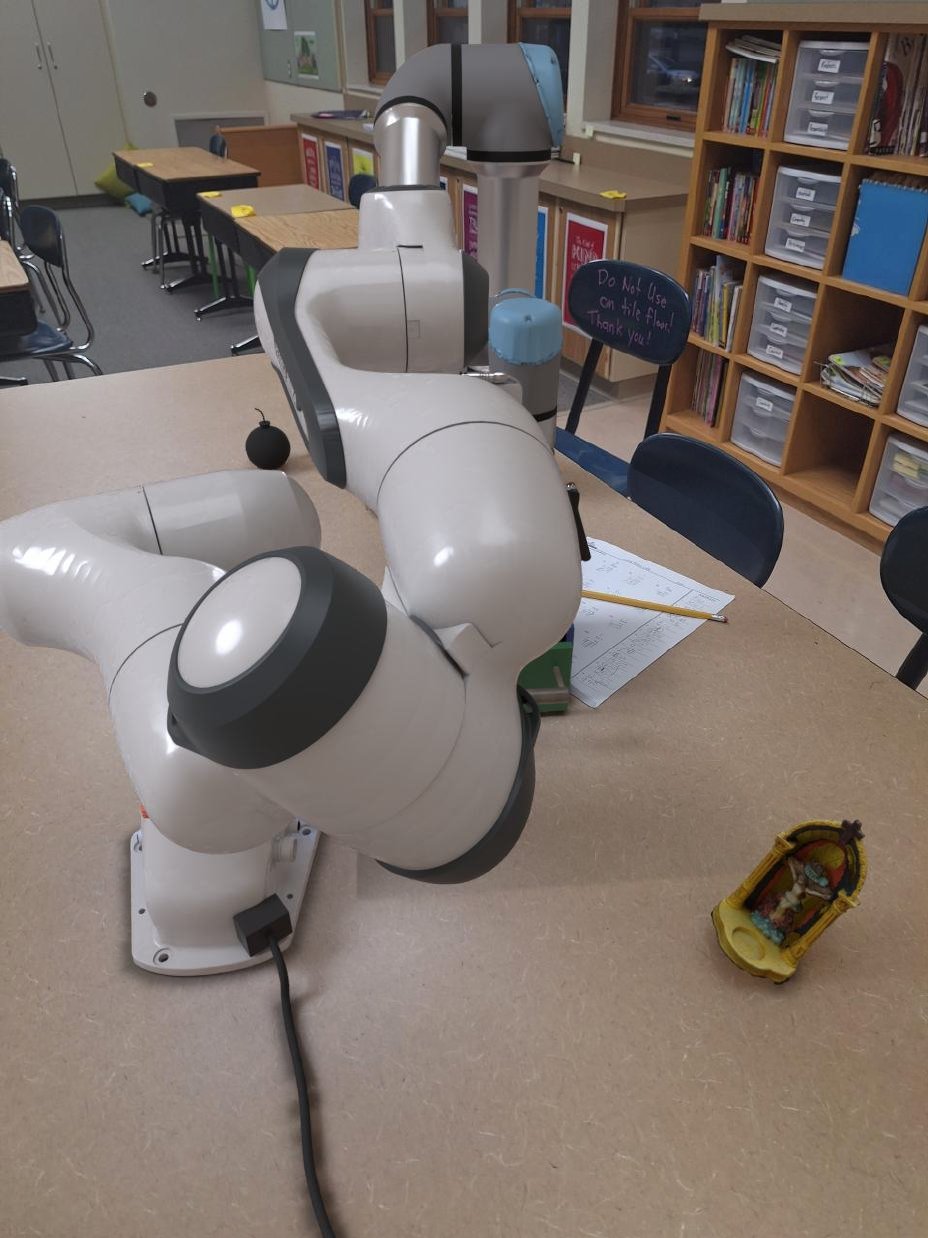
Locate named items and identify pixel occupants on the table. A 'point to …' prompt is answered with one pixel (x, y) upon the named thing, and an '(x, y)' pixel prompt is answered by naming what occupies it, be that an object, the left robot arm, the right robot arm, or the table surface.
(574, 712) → the table surface
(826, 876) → the shrine
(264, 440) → the bomb
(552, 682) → the drawer
